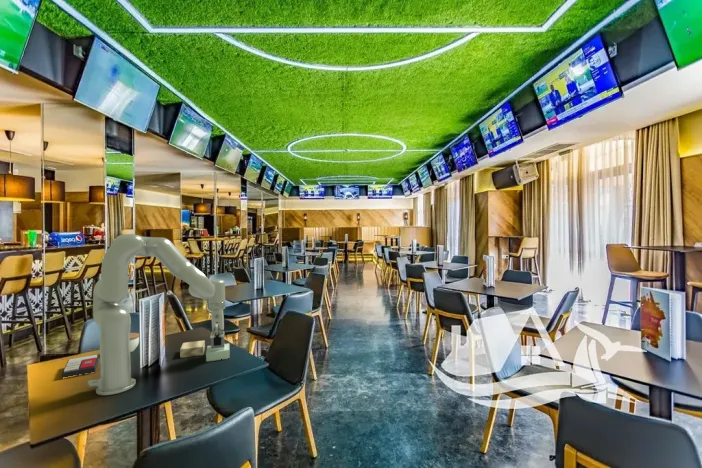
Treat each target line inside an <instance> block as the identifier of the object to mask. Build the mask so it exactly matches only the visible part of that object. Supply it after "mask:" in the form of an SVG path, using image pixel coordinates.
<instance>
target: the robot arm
mask: <svg viewBox="0 0 702 468" xmlns="http://www.w3.org/2000/svg"><path fill="white" fill-rule="evenodd" d="M135 256H138V257H155V258H156V259H157V260H158V261H159V262H160V263H161V264H162V266H163V267H165V268H166V269H167V271H168V272H169V273H170V274H171V275H172V276H174V277H175V278H177V279H179V280H181V281H183V282H185V283H186V284H187V285H189V287H188V293H189V295H191V296H192V297H194V298H197V299H201V300H208V304H207V305H208V306H207V307H208V311H210V312H211V313H210V314H211V330H212V332H213V331H214V346H218V345H221V336H220V331H224V328H225V320H224V319H225V317H224V316H225V315H224V310H225V309H226V281H225V280H224V279H212V280H210V279H209V277H208V276H206V275H205V274H204V272H202V271H201V270H200V269H198V268H197V267H196V266H195V265H194V264H193V263H191V262H190V261H189V260H188V259H187V257H186V256H184V254H183V253H182V252H181V251H180V250H179V249H178V248H177V247H176V245H174V243H173V242H172V241H171V240H169V239H168V238H166V237H151V236H143V235H142V236H141V235H138V234H136V233H135V234H134V233H125V234H120V235H117V237H115V239H114V240H113V242H112V244H111V246H109V248H108V249H107V250H106V252H105V253H104V256H103V258H102V261H101V269H100V270H101V272H100V273H101V274H100V279H99V280H98V281H97V282H96V283H95V285H94V287H93V296H92V297H93V298H92V302H93V303H92V306H93V307H92V309H93V310H92V311H93V312H92V314H93V321H94V323H95V324H96V325H97V326H99V328H100V331H99V332H100V333H99V335H100V336H99V358H100V359H99V363H100V378H98V379H90V380H88V381H87V386H88V387H89V388H95V387H96V389H95V393H96V394H97V396H98V395H99V396H112V395H116V394H120V393H121V394H122V393H123V392H126V391H128V390H130V389H132V388H134V387H135V385H136V384H137V383H136V381H137V380H136V379H135V378H133V377H132V373H131V372H132V368H131V366H132V364H131V362H132V361H131V352H130V333H131V328H132V327H131V324H132V317H131V314H130V312H129V310H127V309H126V308H125V307H123V306H122V302H123V301H124V300H125V299H126V298H127V296H128V293H129V265H130V262H131V260H132V258H134V257H135Z"/></svg>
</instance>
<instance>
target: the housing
mask: <svg viewBox="0 0 702 468" xmlns="http://www.w3.org/2000/svg"><path fill="white" fill-rule="evenodd" d="M220 336H221V345H218V346H214V331H213V330H212V331H211V333H210V336H209V337H210V346H211V351H215V350H223V349H225V344H226V343H225V331H224V330H223V331H222V330H221V331H220Z"/></svg>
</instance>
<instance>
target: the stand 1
mask: <svg viewBox="0 0 702 468" xmlns="http://www.w3.org/2000/svg"><path fill="white" fill-rule="evenodd" d="M205 344H206V341H205V339H204V340H197V341H187V342H183V343H182V345H181V347H180V349H179V353H180V355H179V356H180V358H181V359H182V358H183V359H184V358H189V357H197V356H203V355H204V353H205V348H206V345H205Z"/></svg>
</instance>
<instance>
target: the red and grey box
mask: <svg viewBox="0 0 702 468" xmlns="http://www.w3.org/2000/svg"><path fill="white" fill-rule="evenodd" d="M99 358H100V356H99V354H93V355H87V356H82V357H76V358H71V359H68V360H67V362H66V364H65V365H64V366H65V367H64V368H63V370H62V372H61V377H62V378H63V377H68V376H73V375H79V374H85V373H91V372H95V371H96V372H97V369H98V366H99V363H100V359H99ZM98 362H99V363H98ZM96 368H97V369H96ZM96 372H95V373H96ZM62 378H61V379H62Z"/></svg>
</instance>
